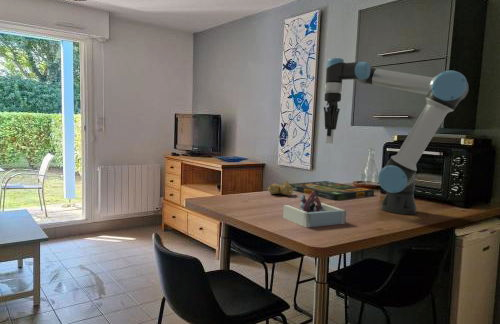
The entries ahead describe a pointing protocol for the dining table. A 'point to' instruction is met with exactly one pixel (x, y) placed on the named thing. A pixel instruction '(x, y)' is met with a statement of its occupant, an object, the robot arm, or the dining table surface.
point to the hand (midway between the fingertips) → (329, 143)
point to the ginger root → (281, 189)
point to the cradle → (315, 216)
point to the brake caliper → (311, 203)
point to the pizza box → (331, 190)
